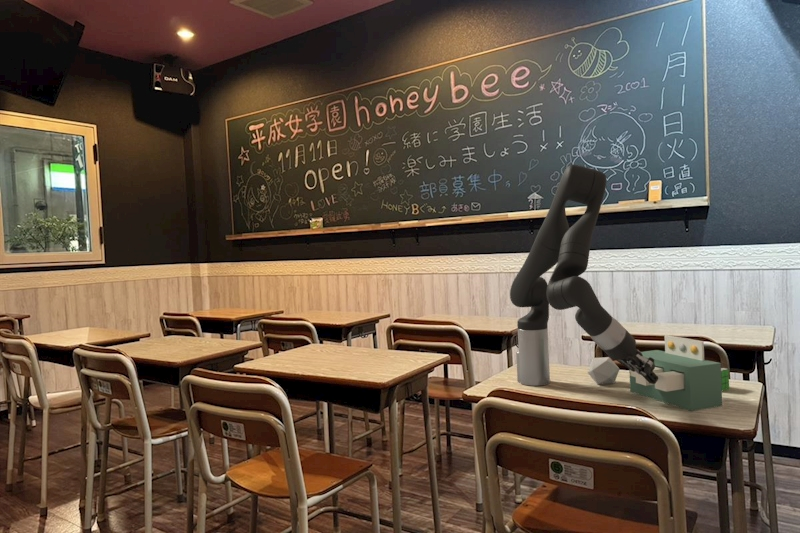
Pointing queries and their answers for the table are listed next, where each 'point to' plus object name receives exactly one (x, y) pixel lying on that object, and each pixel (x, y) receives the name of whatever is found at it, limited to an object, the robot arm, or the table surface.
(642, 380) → the button mid
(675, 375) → the button right
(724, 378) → the puzzle toy
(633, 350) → the robot arm
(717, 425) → the table surface
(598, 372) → the die
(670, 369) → the console
